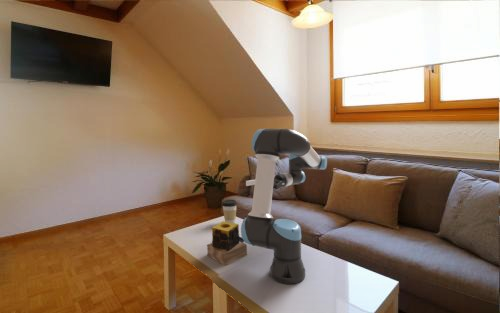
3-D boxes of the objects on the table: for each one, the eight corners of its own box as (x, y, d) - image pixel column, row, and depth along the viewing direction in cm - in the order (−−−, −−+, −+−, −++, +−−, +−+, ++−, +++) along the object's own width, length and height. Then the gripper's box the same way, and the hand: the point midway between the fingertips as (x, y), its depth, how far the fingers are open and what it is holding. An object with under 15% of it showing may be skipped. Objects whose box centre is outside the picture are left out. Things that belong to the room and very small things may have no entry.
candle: (228, 251, 128) (228, 231, 126) (211, 247, 133) (210, 227, 131) (240, 242, 136) (239, 224, 135) (223, 238, 141) (223, 220, 140)
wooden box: (246, 255, 135) (246, 244, 135) (224, 266, 126) (224, 254, 125) (229, 246, 145) (229, 236, 145) (207, 256, 136) (207, 244, 135)
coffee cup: (240, 222, 179) (240, 200, 177) (231, 227, 170) (231, 204, 168) (228, 219, 184) (227, 198, 182) (219, 224, 176) (218, 202, 174)
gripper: (298, 190, 147) (267, 197, 135) (269, 182, 168) (241, 188, 156) (298, 177, 146) (267, 183, 134) (269, 170, 167) (240, 175, 155)
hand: (253, 185), depth 145 cm, fingers open, 13 cm apart
